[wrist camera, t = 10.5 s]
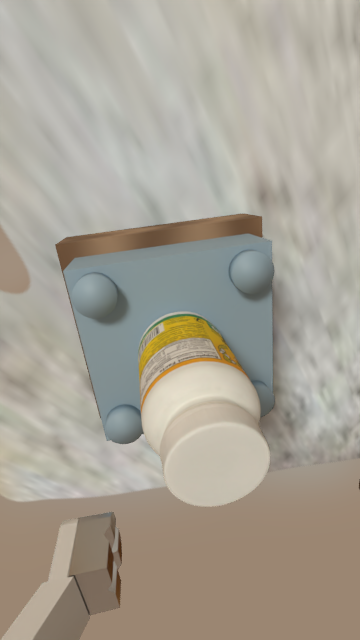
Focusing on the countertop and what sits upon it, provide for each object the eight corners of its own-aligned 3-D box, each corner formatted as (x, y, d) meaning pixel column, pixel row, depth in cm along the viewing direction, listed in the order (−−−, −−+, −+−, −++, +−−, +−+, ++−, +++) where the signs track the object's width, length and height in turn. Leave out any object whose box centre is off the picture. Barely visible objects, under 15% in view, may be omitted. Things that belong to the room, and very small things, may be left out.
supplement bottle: (131, 315, 19) (132, 420, 10) (219, 303, 20) (292, 392, 11) (144, 391, 21) (154, 533, 12) (223, 378, 22) (287, 505, 13)
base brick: (242, 213, 26) (261, 216, 22) (248, 364, 31) (265, 386, 27) (66, 237, 24) (55, 244, 21) (104, 390, 30) (100, 417, 26)
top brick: (248, 233, 22) (279, 243, 18) (253, 379, 27) (278, 417, 22) (74, 258, 21) (59, 275, 17) (110, 405, 26) (105, 451, 21)
